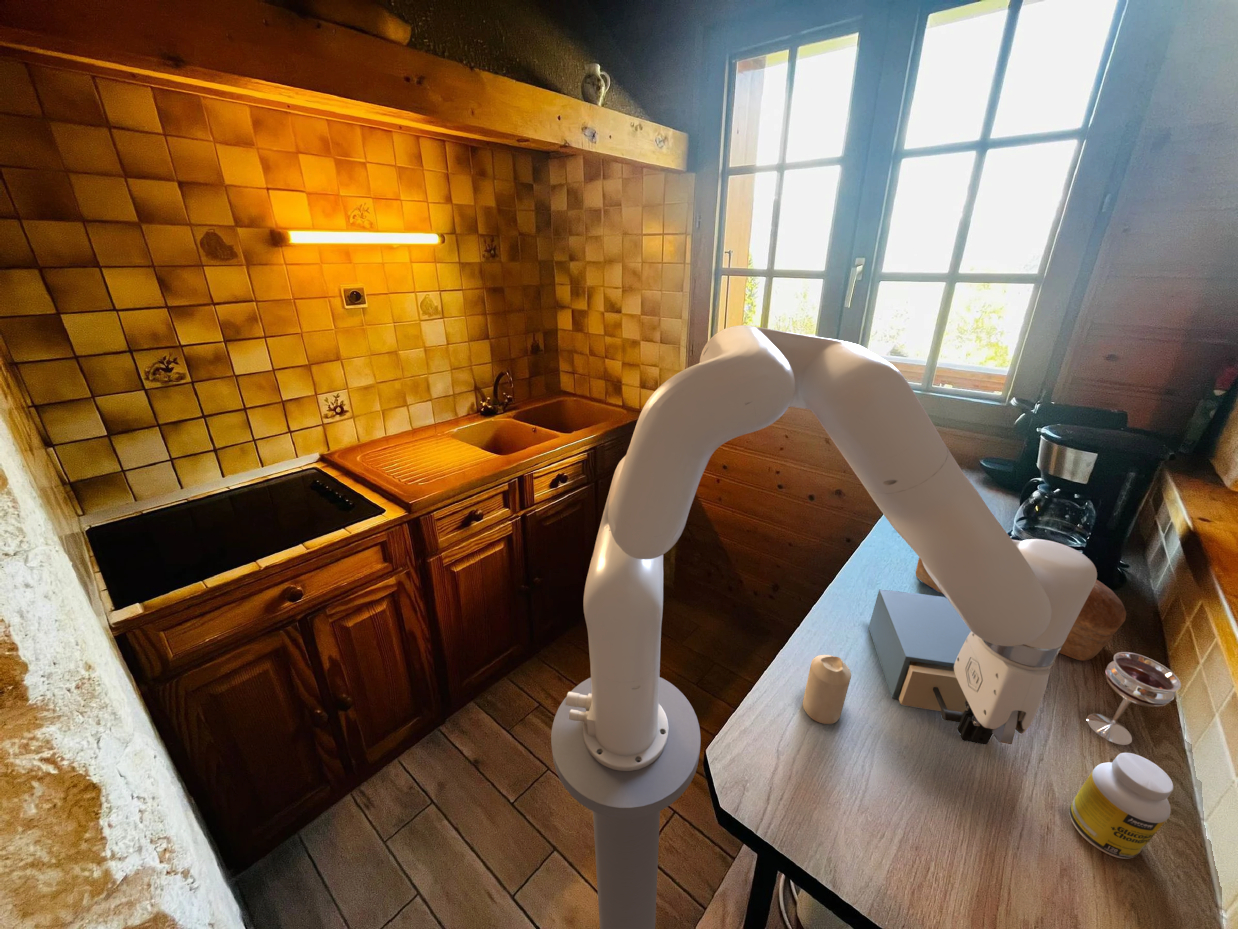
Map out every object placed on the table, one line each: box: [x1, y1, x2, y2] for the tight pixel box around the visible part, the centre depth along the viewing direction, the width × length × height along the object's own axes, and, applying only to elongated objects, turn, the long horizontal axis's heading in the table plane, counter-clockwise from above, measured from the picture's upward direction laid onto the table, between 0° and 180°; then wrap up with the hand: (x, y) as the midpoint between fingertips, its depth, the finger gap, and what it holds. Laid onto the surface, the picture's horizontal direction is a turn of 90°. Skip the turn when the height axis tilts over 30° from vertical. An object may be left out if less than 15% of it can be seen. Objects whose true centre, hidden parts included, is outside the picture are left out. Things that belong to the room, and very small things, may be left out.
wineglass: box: [1086, 651, 1182, 746], centre depth 70 cm, size 7×7×12 cm
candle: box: [802, 654, 852, 725], centre depth 74 cm, size 6×6×10 cm
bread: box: [915, 556, 1127, 661], centre depth 92 cm, size 12×31×14 cm, turn 35°
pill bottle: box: [1068, 752, 1175, 860], centre depth 58 cm, size 6×6×12 cm
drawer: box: [898, 661, 968, 723], centre depth 76 cm, size 20×12×7 cm, turn 168°
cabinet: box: [868, 589, 971, 700], centre depth 81 cm, size 16×14×9 cm
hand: (971, 737), depth 66 cm, fingers closed
